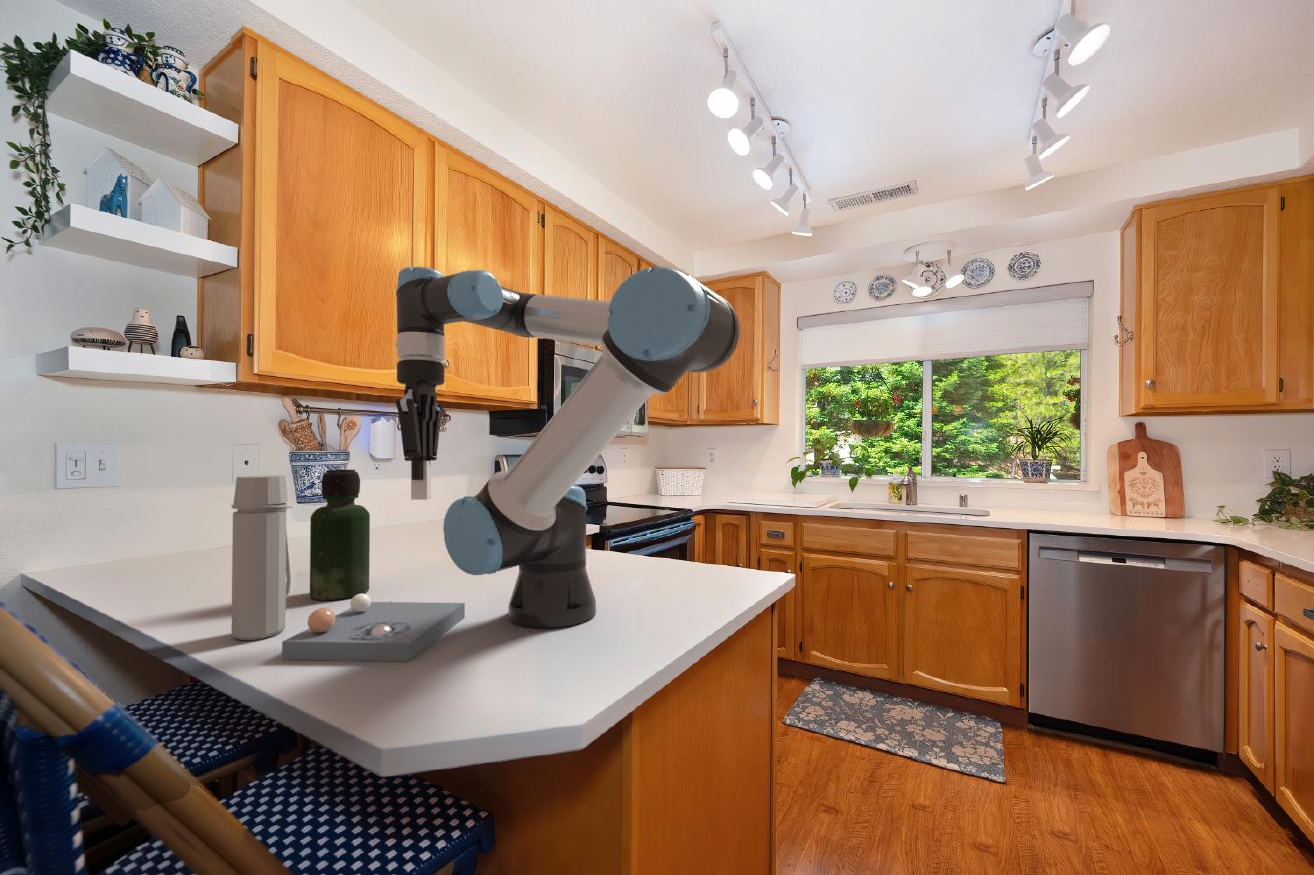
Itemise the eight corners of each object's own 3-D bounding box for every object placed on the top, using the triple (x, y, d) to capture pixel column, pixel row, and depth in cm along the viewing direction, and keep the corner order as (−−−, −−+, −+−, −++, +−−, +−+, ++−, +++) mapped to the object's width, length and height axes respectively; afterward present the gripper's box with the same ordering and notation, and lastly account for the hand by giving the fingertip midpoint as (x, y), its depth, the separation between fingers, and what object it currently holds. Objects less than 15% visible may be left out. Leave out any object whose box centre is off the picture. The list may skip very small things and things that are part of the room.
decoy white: (374, 609, 94) (374, 591, 94) (364, 614, 91) (364, 596, 91) (357, 609, 94) (357, 591, 94) (346, 614, 91) (346, 596, 91)
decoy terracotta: (340, 628, 84) (340, 605, 84) (325, 636, 80) (325, 611, 80) (317, 628, 84) (317, 604, 84) (301, 636, 80) (302, 611, 81)
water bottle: (259, 643, 84) (261, 477, 85) (216, 640, 86) (218, 477, 86) (308, 624, 93) (310, 474, 94) (269, 622, 95) (270, 474, 95)
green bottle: (344, 602, 107) (345, 471, 107) (296, 600, 109) (297, 471, 109) (380, 589, 117) (381, 469, 118) (335, 587, 119) (336, 468, 119)
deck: (464, 617, 97) (464, 602, 97) (408, 661, 77) (408, 643, 77) (363, 616, 98) (363, 601, 98) (282, 659, 78) (282, 641, 78)
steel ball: (398, 633, 86) (394, 621, 84) (389, 652, 83) (385, 640, 81) (378, 631, 86) (373, 618, 84) (368, 650, 83) (363, 637, 81)
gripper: (417, 367, 103) (417, 496, 102) (379, 355, 90) (379, 503, 89) (457, 366, 102) (457, 495, 102) (425, 354, 89) (425, 502, 89)
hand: (420, 499), depth 96 cm, fingers closed
